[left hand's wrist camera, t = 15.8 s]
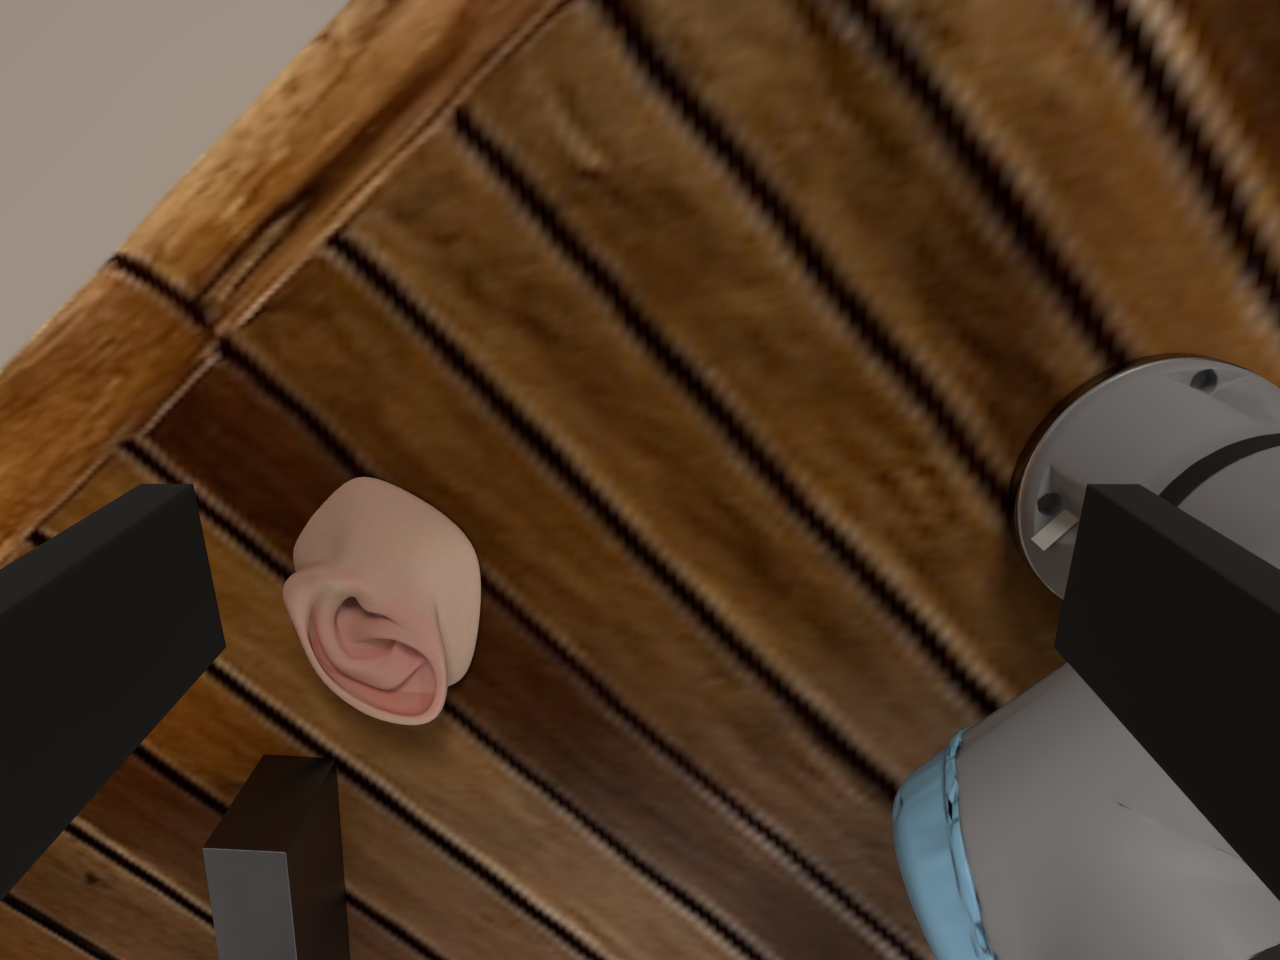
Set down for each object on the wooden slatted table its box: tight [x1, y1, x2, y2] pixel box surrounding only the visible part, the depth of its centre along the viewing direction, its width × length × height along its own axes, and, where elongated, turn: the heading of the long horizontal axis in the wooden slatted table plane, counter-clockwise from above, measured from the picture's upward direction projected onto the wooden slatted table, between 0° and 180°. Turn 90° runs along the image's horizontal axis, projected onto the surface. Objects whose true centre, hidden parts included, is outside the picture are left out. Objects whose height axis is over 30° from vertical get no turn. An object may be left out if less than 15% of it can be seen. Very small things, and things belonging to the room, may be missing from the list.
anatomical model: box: [283, 477, 481, 725], centre depth 46 cm, size 13×4×12 cm
